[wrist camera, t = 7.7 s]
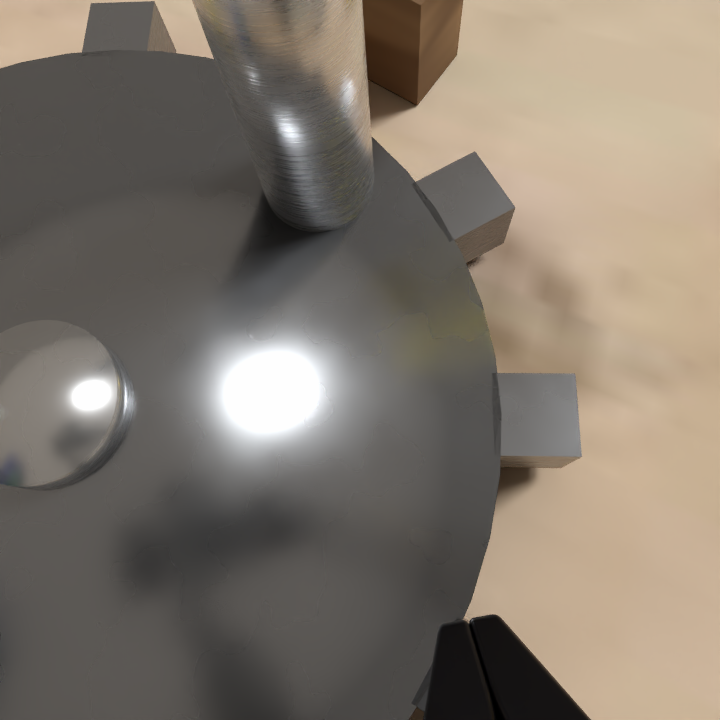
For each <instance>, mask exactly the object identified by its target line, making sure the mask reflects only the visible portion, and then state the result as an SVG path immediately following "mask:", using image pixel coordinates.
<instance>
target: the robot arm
mask: <svg viewBox="0 0 720 720" xmlns="http://www.w3.org/2000/svg"><path fill="white" fill-rule="evenodd" d="M423 720H591V719H590V718H589V717H588V716H587V715H586V714H585V712H584V711H583V710H582V709H581V708H580V707H579V706H578V705H577V703H576V702H575V701H574V700H573V699H572V698H571V697H570V695H569V694H568V693H567V692H566V691H565V690H564V689H563V688H562V686H561V685H560V684H559V683H558V682H557V681H556V680H555V678H554V677H553V676H552V675H551V674H550V673H549V672H548V670H547V669H546V668H545V667H544V666H543V665H542V664H541V663H540V661H539V660H538V659H537V658H536V657H535V656H534V655H533V653H532V652H531V651H530V650H529V649H528V648H527V647H526V646H525V644H524V643H523V642H522V641H521V640H520V639H519V638H518V636H517V635H516V634H515V633H514V632H513V631H512V630H511V629H510V627H509V626H508V625H507V624H506V623H505V622H504V621H503V620H502V619H501V618H500V617H499V616H498V615H494V614H492V615H487V616H481V617H476V618H472V619H471V620H470V622H469V623H468V622H467V621H465V620H459V621H454V622H448V623H443V624H441V625H440V627H439V629H438V634H437V640H436V646H435V652H434V658H433V664H432V670H431V676H430V682H429V688H428V694H427V700H426V706H425V712H424V718H423Z"/></svg>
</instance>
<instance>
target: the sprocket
mask: <svg viewBox="0 0 720 720" xmlns="http://www.w3.org/2000/svg"><path fill="white" fill-rule="evenodd" d="M192 1H193V4H194V6H195V9H196V12H197V14H198V17H199V20H200V22H201V25H202V28H203V30H204V33H205V36H206V38H207V41H208V44H209V46H210V49H211V52H212V54H213V57H214V59H210V58H206V57H199V56H192V55H184V54H177V53H176V49H175V47H174V45H173V42H172V40H171V38H170V36H169V33H168V31H167V29H166V27H165V24H164V22H163V20H162V17H161V15H160V13H159V11H158V8H157V6H156V4H155V2H154V1H151V2H119V3H91V6H90V12H89V17H88V23H87V28H86V34H85V39H84V45H83V50H82V53H70V54H64V55H58V56H53V57H48V58H42V59H37V60H32V61H26V62H21V63H18V64H14V65H11V66H8V67H4V68H1V69H0V720H409V718H410V717H411V715H412V714H413V712H414V710H415V709H416V707H418V708H419V709H421V710H422V711H424V712H425V706H426V700H427V694H428V688H429V682H430V676H431V670H432V664H433V658H434V652H435V646H436V640H437V634H438V629H439V627H440V625H441V624H443V623H448V622H454V621H459V620H465V621H467V622H468V623H469V621H468V620H466V619H465V618H464V616H465V613H466V611H467V609H468V607H469V604H470V602H471V599H472V596H473V593H474V589H475V586H476V583H477V579H478V576H479V573H480V569H481V566H482V562H483V559H484V556H485V552H486V549H487V546H488V542H489V539H490V534H491V528H492V522H493V515H494V509H495V503H496V497H497V490H498V484H499V478H500V467H526V468H562V467H564V466H566V465H567V464H569V463H571V462H573V461H575V460H577V459H578V458H580V457H582V454H581V442H580V429H579V416H578V403H577V390H576V377H575V374H532V373H497V367H496V358H495V353H494V349H493V345H492V341H491V337H490V333H489V329H488V325H487V321H486V317H485V313H484V309H483V305H482V302H481V299H480V297H479V294H478V292H477V289H476V287H475V284H474V282H473V280H472V277H471V275H470V272H469V270H468V267H467V265H466V263H467V262H469V261H471V260H473V259H474V258H476V257H478V256H480V255H482V254H484V253H486V252H488V251H489V250H491V249H493V248H495V247H497V246H499V245H501V244H502V243H504V240H505V237H506V234H507V231H508V228H509V225H510V222H511V219H512V216H513V213H514V210H515V206H514V205H513V203H512V202H511V201H510V199H509V198H508V197H507V195H506V194H505V192H504V191H503V190H502V188H501V187H500V185H499V184H498V183H497V181H496V180H495V178H494V177H493V176H492V174H491V173H490V171H489V170H488V169H487V167H486V166H485V165H484V163H483V162H482V160H481V159H480V158H479V156H478V155H477V153H476V152H473V153H471V154H469V155H467V156H465V157H463V158H461V159H459V160H457V161H455V162H453V163H451V164H450V165H448V166H446V167H444V168H442V169H440V170H438V171H436V172H434V173H432V174H430V175H428V176H426V177H424V178H422V179H421V180H419V181H417V182H415V181H414V180H413V178H412V177H411V176H410V175H409V173H408V172H407V171H406V170H405V169H404V168H403V167H402V166H401V165H400V164H399V163H398V162H397V161H396V160H395V159H394V158H393V157H392V156H391V155H390V154H389V153H388V152H387V151H386V150H385V149H384V148H383V147H382V146H381V145H380V144H379V143H378V142H377V141H376V140H375V139H374V138H373V137H371V122H370V107H369V93H368V78H367V63H366V49H365V34H364V19H363V5H362V0H192Z"/></svg>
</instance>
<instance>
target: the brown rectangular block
mask: <svg viewBox="0 0 720 720" xmlns="http://www.w3.org/2000/svg"><path fill="white" fill-rule="evenodd" d="M362 5H363V19H364V34H365V49H366V63H367V78H368V79H369V80H371V81H373V82H375V83H377V84H378V85H380V86H382V87H384V88H386V89H388V90H390V91H391V92H393V93H395V94H397V95H399V96H401V97H403V98H404V99H406V100H408V101H410V102H412V103H414V104H416V105H418V104H419V103H420V101H421V100H422V99H423V97H424V96H425V95H426V94H427V92H428V91H429V90H430V89H431V87H432V86H433V85H434V83H435V82H436V81H437V80H438V78H439V77H440V76H441V75H442V73H443V72H444V71H445V69H446V68H447V67H448V66H449V64H450V63H451V62H452V61H453V59H454V58H455V57H456V55H457V50H458V41H459V32H460V24H461V15H462V6H463V0H362Z"/></svg>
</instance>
